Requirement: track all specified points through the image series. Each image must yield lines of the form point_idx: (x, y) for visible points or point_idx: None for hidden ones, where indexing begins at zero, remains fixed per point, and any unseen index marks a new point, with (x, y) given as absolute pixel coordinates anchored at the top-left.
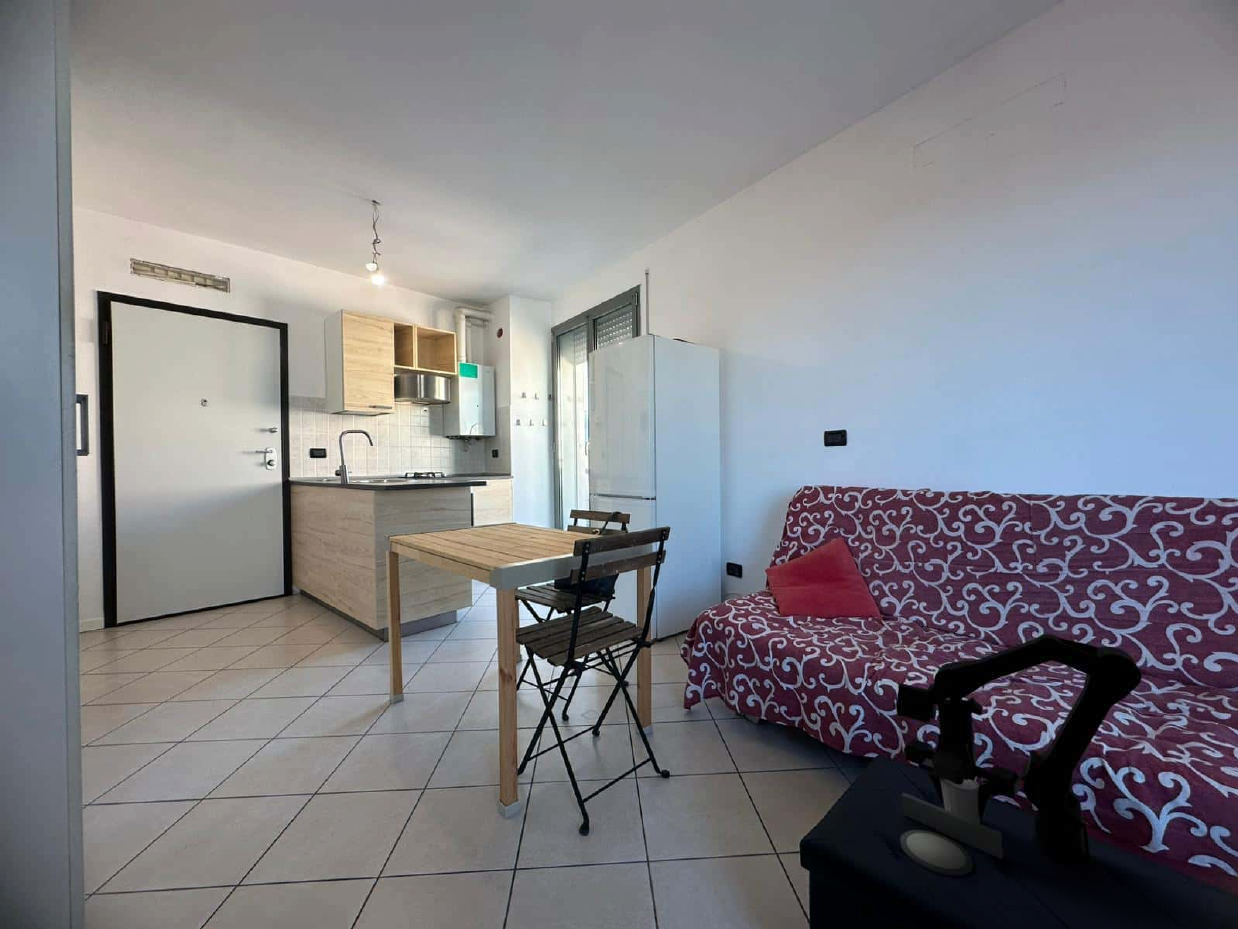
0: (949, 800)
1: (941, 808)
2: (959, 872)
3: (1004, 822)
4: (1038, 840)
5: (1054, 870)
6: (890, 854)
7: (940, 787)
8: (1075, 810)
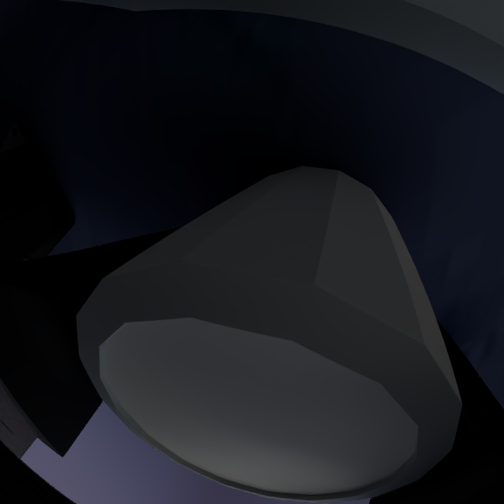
0: (391, 239)
1: (468, 17)
2: None
3: None
4: (31, 181)
5: (30, 78)
6: None
7: None
8: None
